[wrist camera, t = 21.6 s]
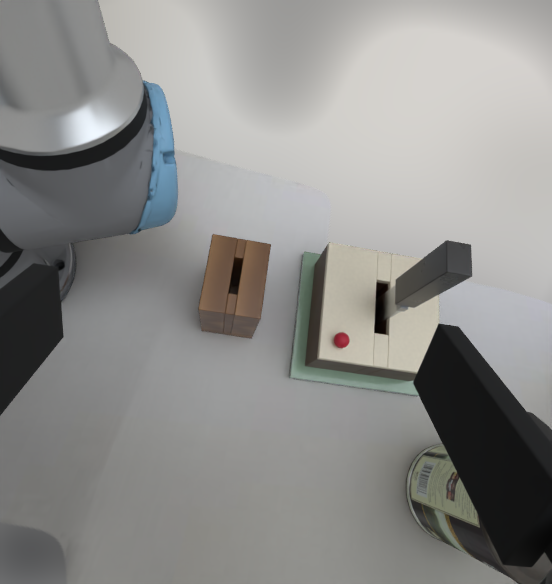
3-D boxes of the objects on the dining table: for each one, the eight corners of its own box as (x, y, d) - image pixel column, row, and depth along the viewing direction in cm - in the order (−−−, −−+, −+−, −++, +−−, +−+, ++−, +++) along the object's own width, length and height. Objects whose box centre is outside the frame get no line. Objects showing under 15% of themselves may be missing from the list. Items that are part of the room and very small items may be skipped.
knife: (352, 332, 49) (447, 274, 29) (354, 309, 50) (446, 237, 30) (368, 335, 49) (472, 278, 29) (369, 311, 50) (471, 242, 30)
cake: (304, 366, 47) (322, 355, 39) (314, 264, 51) (333, 235, 43) (409, 381, 48) (448, 374, 40) (411, 280, 52) (446, 256, 44)
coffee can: (497, 538, 45) (616, 589, 32) (412, 546, 43) (498, 603, 30) (480, 441, 48) (582, 450, 35) (400, 445, 46) (474, 456, 33)
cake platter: (289, 378, 47) (290, 377, 46) (302, 254, 52) (304, 251, 51) (417, 396, 48) (421, 395, 48) (418, 274, 54) (422, 272, 53)
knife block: (201, 331, 47) (198, 309, 38) (213, 268, 50) (212, 233, 40) (251, 338, 48) (260, 319, 38) (260, 276, 50) (270, 243, 41)
